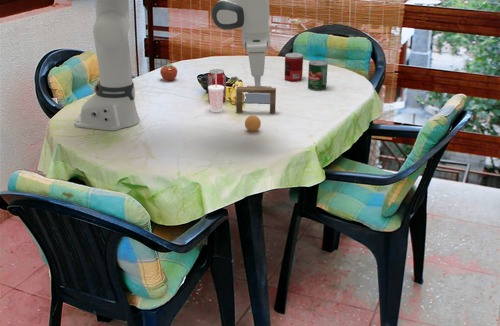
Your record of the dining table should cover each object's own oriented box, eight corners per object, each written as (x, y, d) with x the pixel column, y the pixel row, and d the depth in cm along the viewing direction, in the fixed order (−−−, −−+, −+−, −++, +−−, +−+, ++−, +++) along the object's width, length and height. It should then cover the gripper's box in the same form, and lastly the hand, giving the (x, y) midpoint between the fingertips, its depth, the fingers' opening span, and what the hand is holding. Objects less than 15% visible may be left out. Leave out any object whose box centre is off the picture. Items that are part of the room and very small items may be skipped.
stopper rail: (246, 92, 255) (246, 86, 254) (247, 91, 256) (247, 85, 255) (271, 93, 254) (271, 87, 253) (271, 92, 255) (271, 86, 254)
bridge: (275, 113, 231) (275, 90, 227) (236, 112, 232) (236, 88, 228) (275, 111, 234) (275, 87, 230) (236, 110, 234) (236, 86, 231)
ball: (244, 133, 212) (244, 118, 210) (245, 127, 217) (245, 112, 215) (260, 134, 212) (260, 118, 209) (261, 128, 217) (261, 113, 214)
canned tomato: (326, 85, 265) (327, 60, 260) (326, 91, 257) (328, 65, 253) (307, 85, 265) (309, 59, 261) (307, 90, 258) (308, 64, 254)
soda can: (223, 104, 241) (223, 74, 236) (206, 103, 242) (205, 73, 237) (227, 98, 247) (227, 69, 242) (210, 97, 248) (210, 68, 243)
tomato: (164, 83, 266) (163, 65, 263) (158, 79, 272) (157, 61, 268) (180, 81, 269) (179, 63, 266) (173, 76, 275) (173, 59, 272)
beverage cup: (209, 113, 231) (208, 76, 225) (207, 107, 237) (206, 72, 231) (225, 112, 232) (225, 75, 226) (223, 106, 238) (222, 71, 232)
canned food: (305, 78, 274) (306, 54, 270) (296, 83, 268) (297, 58, 264) (290, 76, 278) (290, 51, 273) (281, 80, 272) (281, 55, 267)
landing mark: (241, 103, 242) (241, 102, 242) (244, 93, 253) (244, 93, 253) (272, 104, 241) (272, 103, 241) (273, 94, 252) (273, 94, 252)
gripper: (246, 32, 206) (247, 72, 212) (246, 48, 187) (247, 92, 193) (265, 31, 206) (266, 72, 212) (267, 47, 187) (268, 91, 193)
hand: (257, 81), depth 202 cm, fingers open, 8 cm apart
